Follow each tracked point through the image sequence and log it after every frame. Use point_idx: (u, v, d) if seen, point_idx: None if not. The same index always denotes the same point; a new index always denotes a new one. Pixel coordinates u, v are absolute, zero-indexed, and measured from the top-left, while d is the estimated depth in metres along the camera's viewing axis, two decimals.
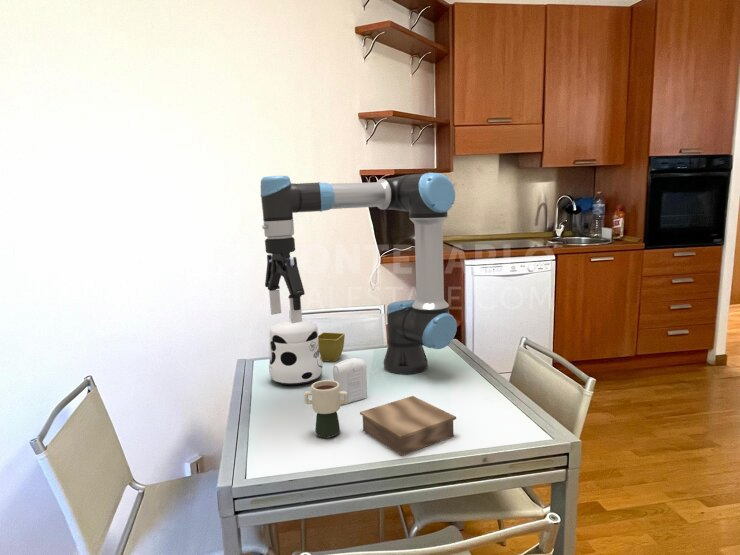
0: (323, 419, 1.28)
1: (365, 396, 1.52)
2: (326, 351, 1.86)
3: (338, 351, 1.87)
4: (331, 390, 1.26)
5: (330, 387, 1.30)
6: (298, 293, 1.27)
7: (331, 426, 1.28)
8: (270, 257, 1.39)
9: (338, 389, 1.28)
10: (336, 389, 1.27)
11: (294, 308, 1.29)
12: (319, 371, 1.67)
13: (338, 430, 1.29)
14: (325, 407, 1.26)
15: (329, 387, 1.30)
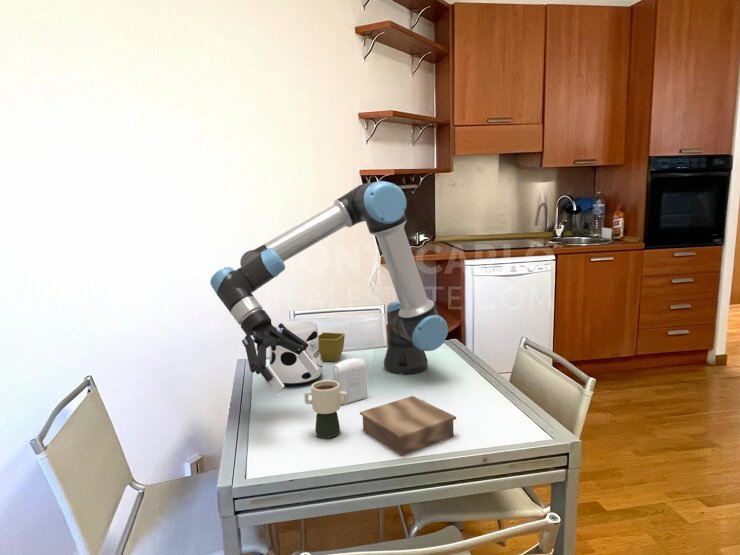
0: (323, 419, 1.28)
1: (365, 396, 1.52)
2: (326, 351, 1.86)
3: (338, 351, 1.87)
4: (331, 390, 1.26)
5: (330, 387, 1.30)
6: (252, 369, 1.26)
7: (331, 426, 1.28)
8: None
9: (338, 389, 1.28)
10: (336, 389, 1.27)
11: None
12: (319, 371, 1.67)
13: (338, 430, 1.29)
14: (325, 407, 1.26)
15: (329, 387, 1.30)
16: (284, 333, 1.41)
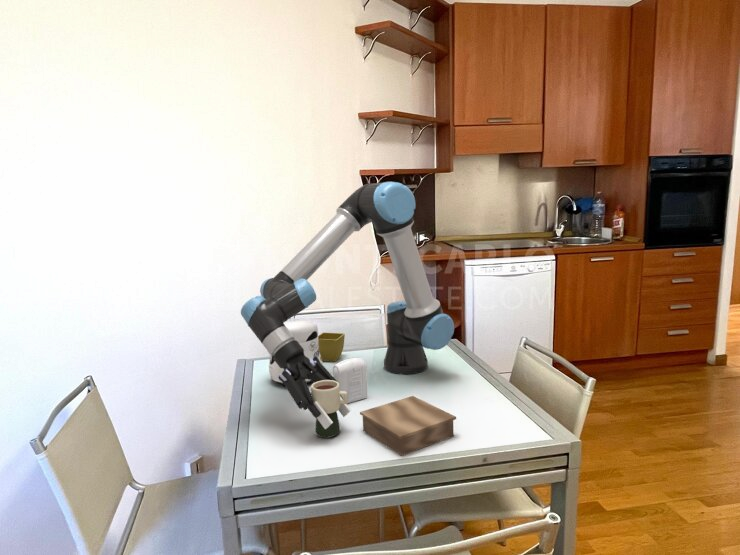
0: None
1: (365, 396, 1.52)
2: (326, 351, 1.86)
3: (338, 351, 1.87)
4: (331, 390, 1.26)
5: (330, 387, 1.30)
6: (300, 406, 1.24)
7: (331, 426, 1.28)
8: None
9: (338, 389, 1.28)
10: (336, 389, 1.27)
11: None
12: None
13: (338, 430, 1.29)
14: (325, 407, 1.26)
15: (329, 387, 1.30)
16: (317, 367, 1.36)
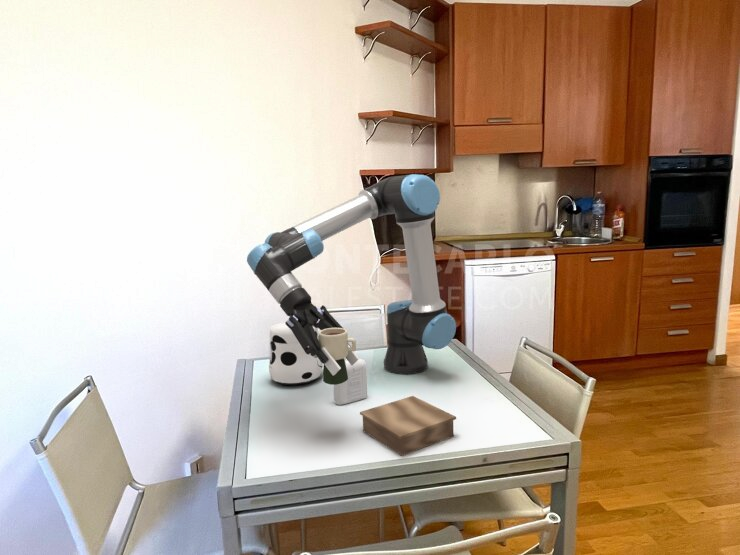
0: None
1: (365, 396, 1.52)
2: None
3: None
4: (339, 336, 1.23)
5: None
6: (308, 351, 1.22)
7: (339, 373, 1.25)
8: None
9: (346, 335, 1.25)
10: (344, 335, 1.24)
11: None
12: (319, 371, 1.67)
13: (346, 378, 1.27)
14: (332, 353, 1.23)
15: (337, 334, 1.27)
16: (324, 316, 1.33)
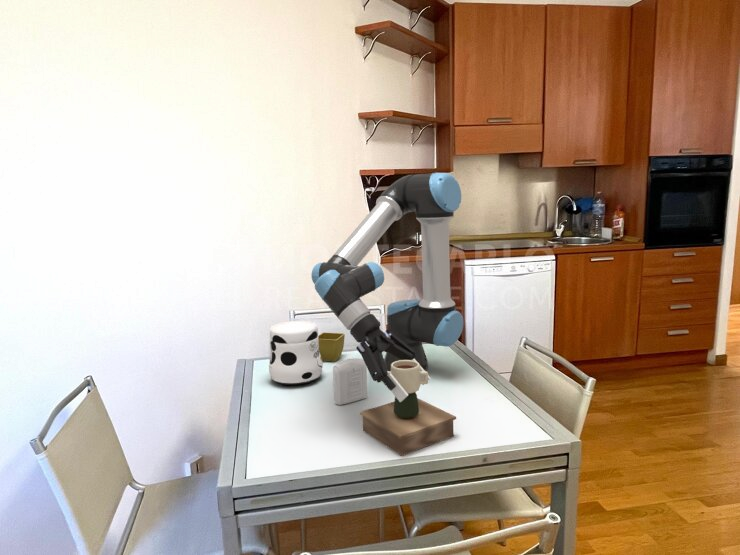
0: (404, 399, 1.25)
1: (365, 396, 1.52)
2: (326, 351, 1.86)
3: (338, 351, 1.87)
4: (413, 369, 1.24)
5: (409, 367, 1.28)
6: (375, 377, 1.21)
7: (412, 406, 1.26)
8: None
9: (419, 368, 1.25)
10: (417, 368, 1.25)
11: None
12: (319, 371, 1.67)
13: (418, 410, 1.27)
14: (406, 386, 1.24)
15: (408, 367, 1.28)
16: (392, 339, 1.35)
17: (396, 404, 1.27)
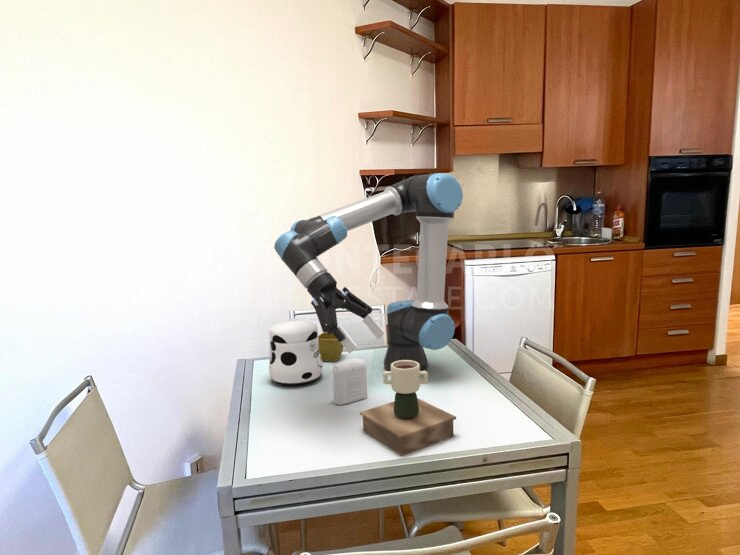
0: (404, 399, 1.25)
1: (365, 396, 1.52)
2: (326, 351, 1.86)
3: (338, 351, 1.87)
4: (413, 369, 1.24)
5: (409, 367, 1.28)
6: (324, 329, 1.25)
7: (411, 406, 1.26)
8: None
9: (419, 368, 1.25)
10: (417, 368, 1.25)
11: None
12: (319, 371, 1.67)
13: (418, 410, 1.27)
14: (406, 386, 1.24)
15: (408, 367, 1.28)
16: (348, 297, 1.40)
17: (396, 404, 1.27)
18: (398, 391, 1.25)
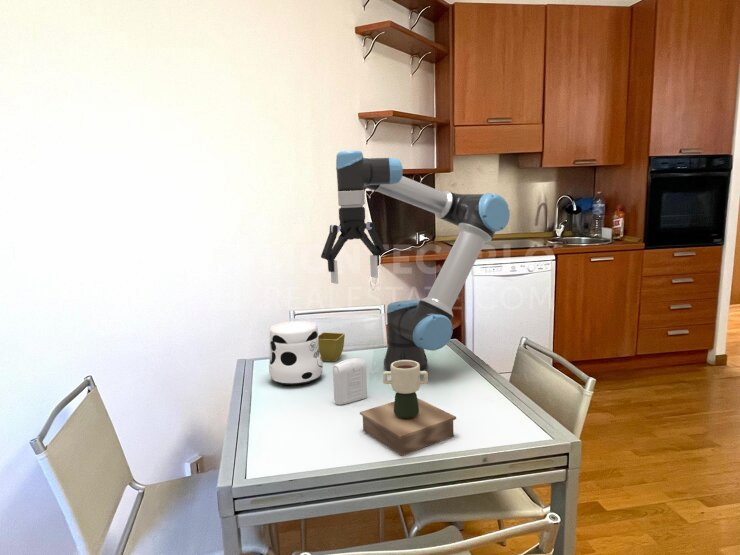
0: (404, 399, 1.25)
1: (365, 396, 1.52)
2: (326, 351, 1.86)
3: (338, 351, 1.87)
4: (413, 369, 1.24)
5: (409, 367, 1.28)
6: (322, 256, 1.45)
7: (411, 406, 1.26)
8: None
9: (419, 368, 1.25)
10: (417, 368, 1.25)
11: None
12: (319, 371, 1.67)
13: (418, 410, 1.27)
14: (406, 386, 1.24)
15: (408, 367, 1.28)
16: (371, 232, 1.52)
17: (396, 404, 1.27)
18: (398, 391, 1.25)
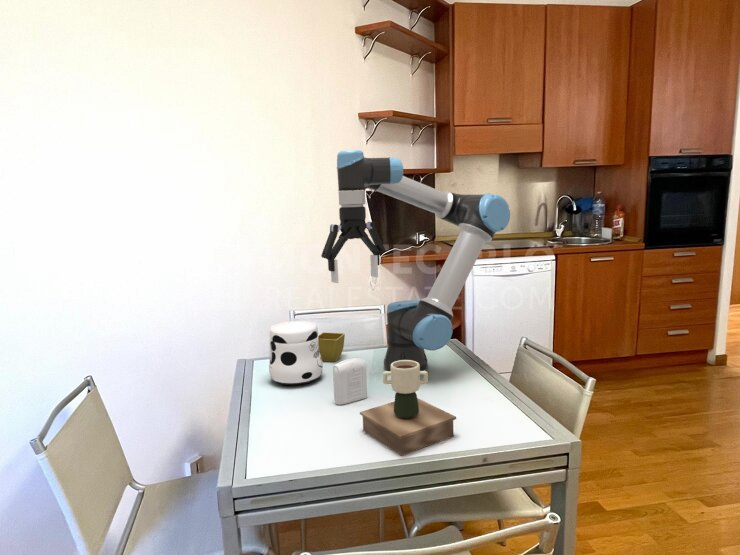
0: (403, 399, 1.25)
1: (365, 396, 1.52)
2: (326, 351, 1.86)
3: (338, 351, 1.87)
4: (413, 369, 1.24)
5: (409, 367, 1.28)
6: (322, 255, 1.45)
7: (411, 406, 1.26)
8: None
9: (419, 368, 1.26)
10: (417, 368, 1.25)
11: None
12: (319, 371, 1.67)
13: (418, 410, 1.27)
14: (406, 386, 1.24)
15: (408, 367, 1.28)
16: (371, 231, 1.52)
17: (396, 404, 1.27)
18: (398, 391, 1.25)
